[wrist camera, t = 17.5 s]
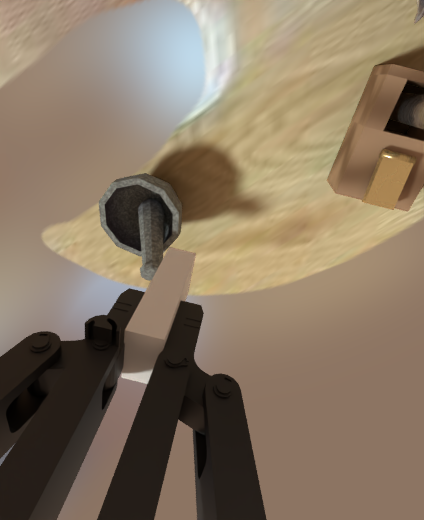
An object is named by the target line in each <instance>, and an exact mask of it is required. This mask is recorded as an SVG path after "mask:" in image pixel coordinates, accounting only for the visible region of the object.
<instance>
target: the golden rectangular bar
mask: <svg viewBox="0 0 424 520" xmlns="http://www.w3.org/2000/svg"><path fill="white" fill-rule="evenodd" d="M416 160H417V158H416V157H414V156H410V155H406V154H402V153H398V152H394V151H390V150H386V149H382V150H381V152H380V154H379V160H378V162H377V165H376V167H375V170H374V172H373V175H372V177H371V180H370V182H369V185H368V187H367V190H366V192H365V195H364V197H363V200H362V202H365V203H368V204H372V205H376V206H380V207H384V208H388V209H392V210H394V207H395V205H396V203H397V201H398V198H399V196H400V194H401V191H402V189H403V187H404V185H405V182H406V180H407V178H408V176H409V173H410V171H411V169H412V167H413V165H414V164H415V163H416Z"/></svg>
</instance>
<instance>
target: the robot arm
mask: <svg viewBox="0 0 424 520" xmlns="http://www.w3.org/2000/svg"><path fill="white" fill-rule="evenodd" d="M195 256H196V253H192V252H188V251H184V250H180V249H176V248H172V247H169V249H168V251H167V253H166V254H165V256H164V258H163V260H162V262H161V264H160V266H159V267H158V269H157V271H156V273H155V275H154V277H153V279H152V280H151V282H150V284H149V286H148V288H147V290H146V292H142V291H138V290H133V289H128V290H126V291H125V292H123V293H122V294H121V295H120V296H119V298H118V299H117V301H116V303H115V304H114V306H113V307H112V309H111V310H110V312H109V313H108V315H100V316H95V317H93V318H90V319H89V320H88V321H87V322H85V339H83V340H78V341H61V340H60V338H59V336H58V335H56V334H55V333H51V332H38V333H34V334H32V335H30V336H28V337H26V338H25V339H24V340H22V341H21V342H20V343H18V344H17V345H16V346H14V347H13V348H12V349H10V350H9V351H8V352H6V353H5V354H4V355H2V356H1V357H0V458H1V457H2V456H3V455H4V454H5V453H6V452H7V451H8V450H9V449H10V448H11V447H12V446H13V445H14V444H15V445H14V446H13V448H12V449H11V451H10V452H9V454H8V455H7V457H6V458H5V460H4V461H3V463H2V464H1V466H0V520H57V518H58V515H59V513H60V511H61V509H62V507H63V505H64V502H65V500H66V498H67V496H68V493H69V491H70V489H71V487H72V485H73V483H74V480H75V478H76V476H77V474H78V472H79V470H80V467H81V465H82V463H83V461H84V459H85V456H86V454H87V452H88V450H89V447H90V446H91V443H92V441H93V439H94V437H95V434H96V432H97V430H98V428H99V426H100V424H101V421H102V419H103V417H104V415H105V413H106V411H107V408H108V406H109V404H110V402H111V400H112V398H113V395H114V393H115V391H116V388H117V380H118V378H119V376H120V374H121V371H122V378H126V379H130V380H134V381H138V382H142V383H146V384H147V387H146V389H145V392H144V395H143V398H142V400H141V403H140V406H139V408H138V411H137V414H136V417H135V419H134V422H133V425H132V427H131V430H130V433H129V435H128V438H127V441H126V443H125V446H124V449H123V452H122V454H121V457H120V460H119V463H118V465H117V468H116V470H115V473H114V476H113V478H112V481H111V484H110V487H109V489H108V492H107V495H106V497H105V500H104V503H103V506H102V508H101V511H100V514H99V516H98V519H97V520H154V517H155V513H156V509H157V505H158V500H159V496H160V492H161V488H162V484H163V480H164V476H165V471H166V468H167V463H168V459H169V455H170V451H171V447H172V442H173V439H174V435H175V430H176V426H177V422H178V419H179V420H180V421H182V422H183V423H185V424H186V425H188V426H189V427H191V428H192V429H193V444H194V464H195V483H196V484H195V485H196V505H197V520H266V515H265V510H264V505H263V500H262V495H261V490H260V485H259V480H258V475H257V470H256V465H255V460H254V455H253V450H252V445H251V440H250V434H249V429H248V424H247V419H246V415H245V409H244V404H243V400H242V394H241V390H240V387H239V385H238V383H237V382H236V381H235V380H234V379H233V378H232V377H230V376H228V375H225V374H215V375H213V376H210V375H208V374H207V373H205V372H203V371H202V370H201V369H200V368H199V367H198V366H197V365H196V363H195V360H194V352H195V347H196V343H197V339H198V335H199V330H200V326H201V322H202V318H203V314H204V313H203V310H202V307H201V305H197V304H193V303H189V302H185V300H186V297H187V294H188V291H189V286H190V281H191V276H192V271H193V266H194V261H195Z"/></svg>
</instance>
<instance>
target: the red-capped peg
mask: <svg viewBox="0 0 424 520" xmlns="http://www.w3.org/2000/svg"><path fill="white" fill-rule="evenodd" d="M389 119H391V120H394V121H397V122H401V123H404V124H407V125H410V126H414V127H417V128H420V129H424V95H421V94H410V93H401V94H400V96H399V98H398V101H397V103H396V105H395V107H394V109H393V111H392V113H391V115H390V118H389Z"/></svg>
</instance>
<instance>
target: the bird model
mask: <svg viewBox="0 0 424 520" xmlns="http://www.w3.org/2000/svg"><path fill="white" fill-rule="evenodd" d="M417 6H418V10H417V14H416V16H415V21H414V23H416V22H418V21H419V20H420V19H421V18H422V17H423V16H424V0H417Z"/></svg>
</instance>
